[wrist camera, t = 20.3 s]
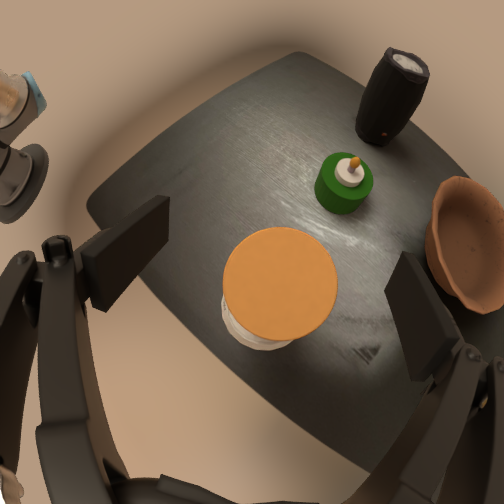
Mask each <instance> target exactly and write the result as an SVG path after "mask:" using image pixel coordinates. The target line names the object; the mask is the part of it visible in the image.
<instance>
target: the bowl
mask: <svg viewBox="0 0 504 504" xmlns="http://www.w3.org/2000/svg"><path fill="white" fill-rule="evenodd" d="M425 252H426V257H427V263H428V266H429V268H430V270H431V272H432V274H433V276H434V279H435V281H436V282H437V283H438V284H439V285H440V286H441V287H442V288H443V289H444V291H445V292H446V293H447V294H449V295H452V296H455V297H457V298H459V300H460V301H461V302H462V303H463V305H464V306H465V307H466V308H467V309H470V310H472V311H474V312H477V313H479V314H482V315H483V314H486V313H489V312H492V311H494V310H497V309H500V308H501V306H502V305H503V304H504V210H503V208H502V206H501V204H500V203H499V202H498V201H497V200H496V198H495V197H494V196H493V195H492V194H491V193H490V192H489V191H488V190H487V189H486V188H485V187H483V186H481V185H480V184H478V183H476V182H475V181H473V180H471V179H470V178H464V177H459V176H453V177H451V178H449V179H447V180H446V181H444V182H442V183H441V184H440V186H439V188H438V190H437V192H436V194H435V197H434V199H433V201H432V217H431V219H430V221H429V223H428V225H427V228H426V236H425Z"/></svg>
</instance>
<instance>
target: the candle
mask: <svg viewBox="0 0 504 504" xmlns="http://www.w3.org/2000/svg"><path fill="white" fill-rule="evenodd" d="M372 187H373V176H372V173H371V171H370V169H369V167H368V166H367V165H366V164H365V162H364V161H362V160H361V159H360V158H358V157H357V156H355V155H352V154H349V153H343V152H340V153H334V154H332V155H330V156H328V157H327V158H326V159H325V161H324V162H323V164H322V167H321V169H320V172H319V175H318V177H317V180H316V182H315V188H314V190H315V195H316V198H317V199H318V201H319V203H320V204H321V205H322V206H323V207H324V208H325V209H327V210H328V211H330V212H333V213H335V214H349V213H351V212H353V211H355V210H356V209H357V208H358V207H359V205H360V204H361V203H362V202H363V200H364V199H365V198H366V197H367V195H368V194H369V193H370V191H371V189H372Z"/></svg>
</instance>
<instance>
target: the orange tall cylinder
mask: <svg viewBox="0 0 504 504" xmlns="http://www.w3.org/2000/svg"><path fill="white" fill-rule="evenodd" d="M337 290H338V279H337V272H336V269H335V265H334V263H333V261H332V259H331V257H330V255H329V253H328V252H327V251H326V249H325V248H324V247H323V246H322V245H321V244H320V243H319V242H318V241H317V240H316V239H314V238H313V237H311V236H310V235H308V234H306V233H304V232H302V231H299V230H296V229H292V228H286V227H274V228H268V229H263V230H261V231H258V232H256V233H254V234H252V235H250V236H248V237H247V238H245V239H244V240H243V241H242V242H241V243H240V244H239V245H238V246H237V247H236V248H235V249H234V251H233V252H232V254H231V255H230V257H229V259H228V261H227V263H226V266H225V269H224V274H223V293H224V298H225V301H226V304H227V307H228V309H229V311H230V313H231V314H232V316H233V317H234V318H235V320H236V321H237V322H238V323H239V324H240V325H241V326H242V327H243V328H244V329H246V330H247V331H248V332H250V333H252V334H253V335H255V336H258V337H260V338H263V339H266V340H271V341H290V340H295V339H299V338H301V337H304V336H306V335H308V334H310V333H311V332H313V331H314V330H316V329H317V328H318V327H319V326H320V325H321V324H322V323H323V322H324V321H325V320H326V318H327V317H328V316H329V314H330V312H331V311H332V309H333V306H334V304H335V301H336V297H337Z"/></svg>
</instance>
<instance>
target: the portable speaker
mask: <svg viewBox="0 0 504 504" xmlns="http://www.w3.org/2000/svg"><path fill="white" fill-rule="evenodd" d="M429 76H430V73H429V70H428V66H427V65H426V64H425V63H424V62H423V61H422V60H421V59H420V58H419V57H417V56H416V55H414V54H412V53H407V52H404V51H400V50H397V49H393V48H391V47H389V48H388V49H387V50H386V52H385V53H384V56H383V58H382V59H381V60H380V62H379V63H378V65H377V66H376V67H375V69H374V71H373V73H372V75H371V78H370V80H369V82H368V85H367V87H366V89H365V91H364V93H363V96H362V99H361V103H360V107H359V111H358V115H357V119H356V128H355V130H356V132H357V134H358V136H359V137H360V138H361V139H362V140H364V141H365V142H367V141H369V142H373V143H376V144H380V145H382V146H385V145H387V144H389V142H390V141H391V140H392V139H393V138H394V137H395V136H396V135H397V134H399V133H400V132H401V131H402V129H403V128H404V127H405V125H406V124H407V122H408V121H409V119H410V118H411V116H412V115H413V113H414V111H415V110H416V108H417V107H418V105H419V104H420V102H421V100H422V97H423V94H424V91H425V89H426V86H427V83H428V79H429Z"/></svg>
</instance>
